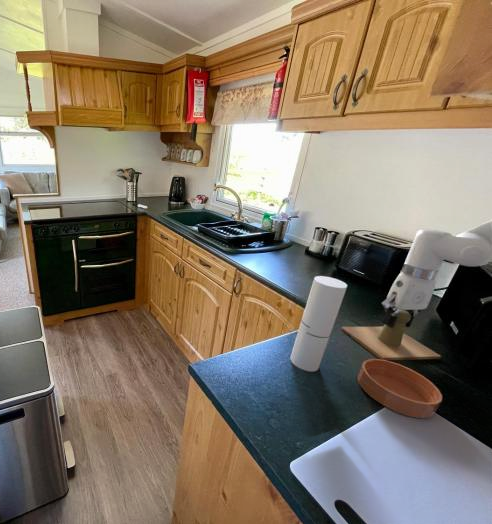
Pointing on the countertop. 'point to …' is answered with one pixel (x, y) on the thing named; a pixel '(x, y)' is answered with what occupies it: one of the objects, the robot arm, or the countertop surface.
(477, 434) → the countertop surface
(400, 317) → the pepper shaker
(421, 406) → the terracotta dish
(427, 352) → the cutting board
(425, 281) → the robot arm
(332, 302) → the cylindrical container
